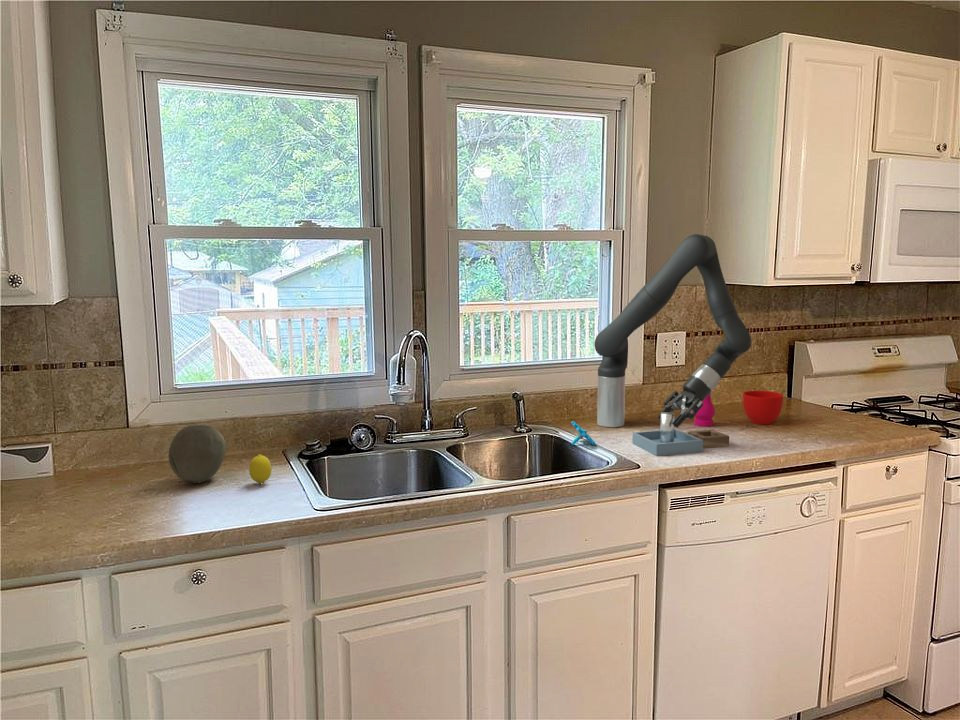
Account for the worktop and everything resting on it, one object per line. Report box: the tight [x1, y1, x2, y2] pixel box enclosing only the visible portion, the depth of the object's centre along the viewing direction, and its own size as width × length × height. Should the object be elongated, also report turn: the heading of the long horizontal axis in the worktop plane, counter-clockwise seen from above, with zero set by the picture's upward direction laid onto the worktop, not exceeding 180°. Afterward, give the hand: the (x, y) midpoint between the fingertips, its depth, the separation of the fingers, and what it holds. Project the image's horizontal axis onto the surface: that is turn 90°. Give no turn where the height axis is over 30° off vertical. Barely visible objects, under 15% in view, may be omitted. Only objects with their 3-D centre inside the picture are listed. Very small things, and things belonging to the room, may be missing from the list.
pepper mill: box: [693, 391, 716, 428], centre depth 242 cm, size 7×7×20 cm
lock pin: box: [659, 412, 675, 443], centre depth 214 cm, size 4×4×10 cm
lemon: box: [248, 454, 272, 484], centre depth 185 cm, size 6×6×8 cm
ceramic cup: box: [742, 390, 784, 426], centre depth 246 cm, size 13×17×10 cm
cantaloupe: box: [168, 424, 227, 484], centre depth 188 cm, size 14×14×15 cm
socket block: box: [686, 429, 730, 449], centre depth 219 cm, size 9×9×3 cm
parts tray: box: [631, 428, 704, 457], centre depth 215 cm, size 15×15×4 cm
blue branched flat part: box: [570, 420, 597, 446], centre depth 220 cm, size 11×6×10 cm
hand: (666, 422), depth 214 cm, fingers open, 8 cm apart
